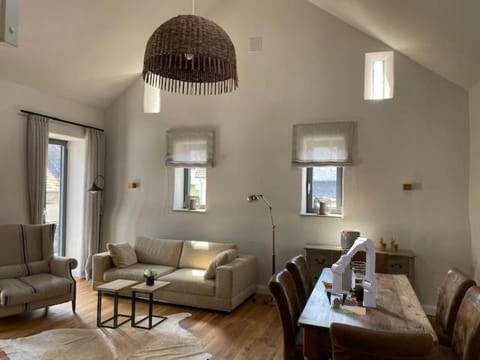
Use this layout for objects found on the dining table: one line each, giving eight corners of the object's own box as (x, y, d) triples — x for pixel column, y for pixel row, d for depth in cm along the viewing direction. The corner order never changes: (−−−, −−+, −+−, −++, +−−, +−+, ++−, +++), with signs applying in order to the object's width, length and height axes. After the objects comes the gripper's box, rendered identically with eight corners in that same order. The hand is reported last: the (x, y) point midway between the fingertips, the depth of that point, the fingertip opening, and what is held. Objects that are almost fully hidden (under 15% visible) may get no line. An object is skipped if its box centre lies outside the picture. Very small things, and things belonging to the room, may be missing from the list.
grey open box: (339, 300, 243) (340, 295, 243) (357, 303, 239) (357, 297, 239) (339, 304, 236) (339, 298, 236) (357, 306, 232) (357, 300, 232)
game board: (331, 303, 237) (331, 303, 237) (366, 308, 230) (366, 307, 230) (329, 311, 222) (329, 310, 222) (365, 316, 215) (365, 315, 215)
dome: (341, 299, 241) (341, 292, 241) (349, 300, 240) (349, 293, 240) (341, 302, 237) (341, 294, 237) (348, 303, 235) (348, 295, 235)
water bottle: (346, 287, 275) (347, 250, 275) (354, 291, 266) (355, 252, 266) (335, 288, 272) (336, 250, 272) (342, 292, 262) (343, 253, 262)
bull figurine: (322, 289, 267) (323, 278, 267) (339, 294, 257) (339, 282, 257) (319, 291, 264) (319, 279, 264) (336, 295, 254) (336, 283, 254)
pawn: (333, 306, 231) (333, 296, 231) (340, 307, 230) (340, 297, 230) (332, 308, 227) (333, 298, 227) (339, 309, 226) (339, 299, 226)
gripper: (324, 283, 227) (323, 305, 227) (348, 286, 222) (348, 308, 222) (325, 280, 234) (325, 302, 234) (349, 283, 229) (348, 305, 229)
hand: (336, 305), depth 228 cm, fingers open, 7 cm apart
